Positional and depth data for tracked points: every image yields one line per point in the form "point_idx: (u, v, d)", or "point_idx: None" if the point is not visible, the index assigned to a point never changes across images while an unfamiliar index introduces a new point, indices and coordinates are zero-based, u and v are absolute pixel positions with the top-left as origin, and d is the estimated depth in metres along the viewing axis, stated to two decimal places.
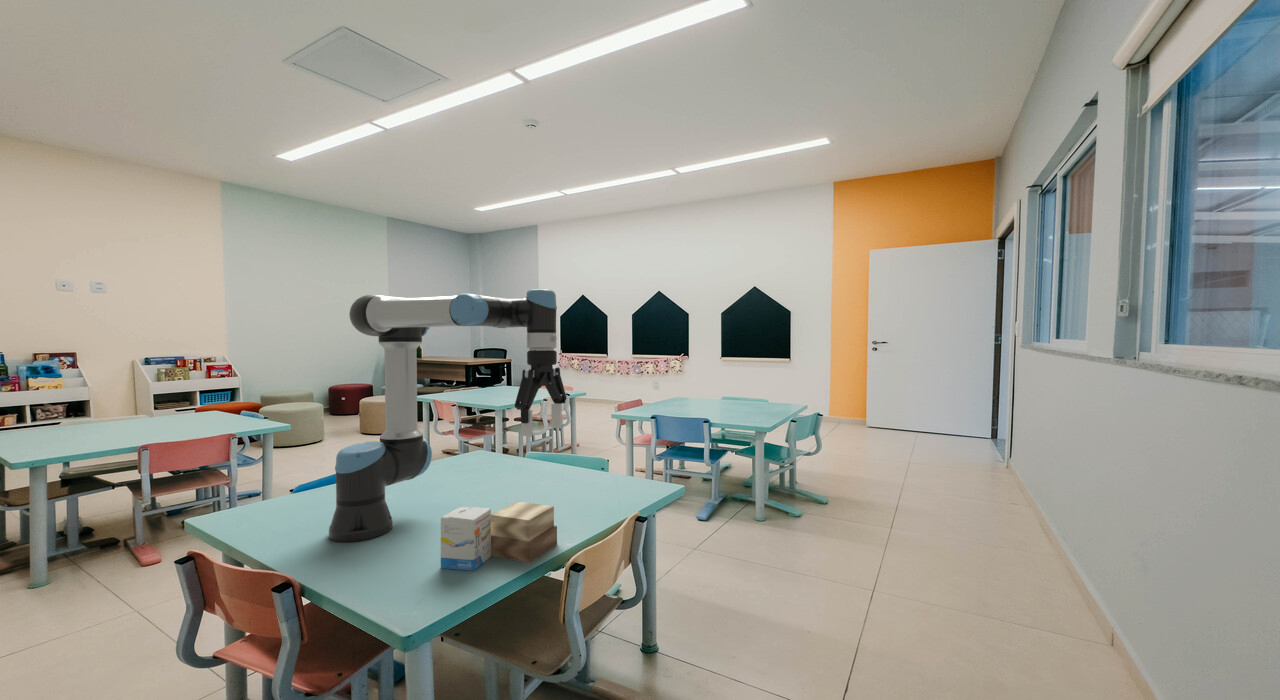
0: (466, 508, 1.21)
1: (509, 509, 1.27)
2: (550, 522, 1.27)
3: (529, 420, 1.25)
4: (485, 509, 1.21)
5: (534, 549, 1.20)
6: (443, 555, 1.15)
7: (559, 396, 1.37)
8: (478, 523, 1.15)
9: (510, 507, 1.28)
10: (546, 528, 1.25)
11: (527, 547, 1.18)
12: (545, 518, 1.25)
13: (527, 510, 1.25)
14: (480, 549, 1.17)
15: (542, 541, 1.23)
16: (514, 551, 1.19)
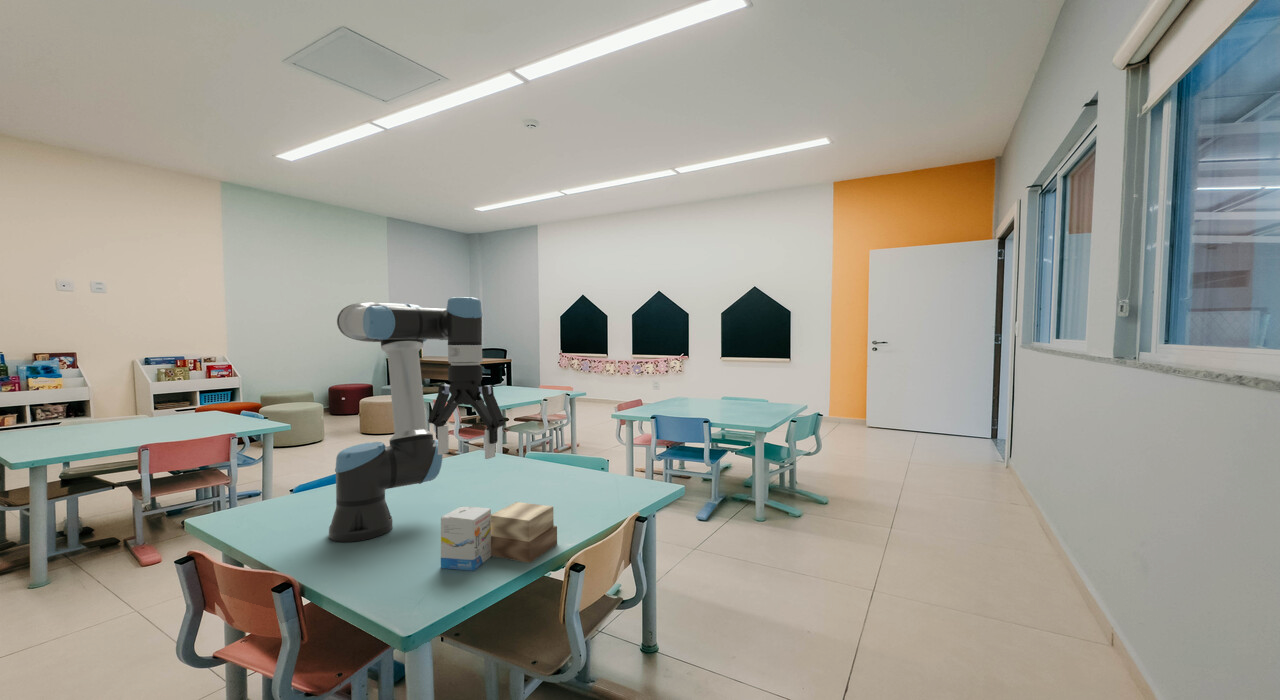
0: (466, 508, 1.21)
1: (509, 509, 1.27)
2: (550, 522, 1.27)
3: None
4: (485, 509, 1.21)
5: (534, 549, 1.20)
6: (443, 555, 1.15)
7: (485, 420, 1.15)
8: (478, 523, 1.15)
9: (509, 507, 1.28)
10: (545, 528, 1.25)
11: (526, 547, 1.18)
12: (544, 518, 1.25)
13: (527, 511, 1.25)
14: (480, 549, 1.17)
15: (542, 541, 1.23)
16: (514, 551, 1.19)
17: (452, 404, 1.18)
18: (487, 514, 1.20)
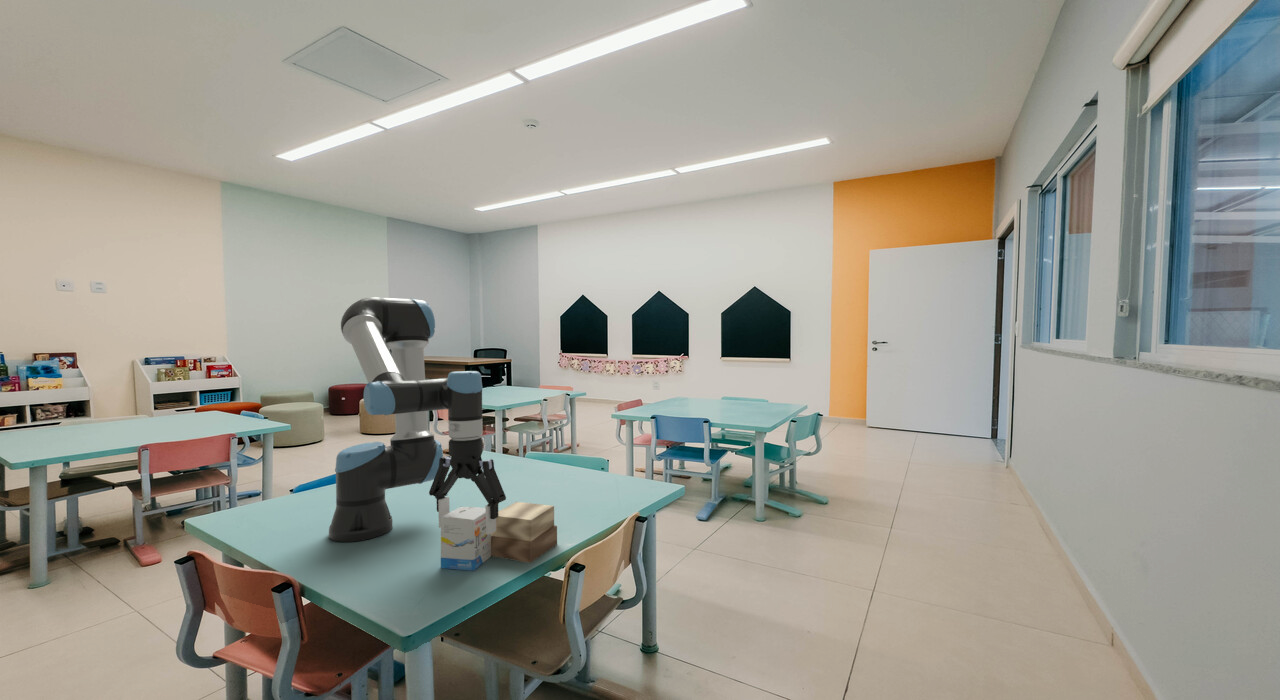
0: (466, 508, 1.21)
1: (509, 509, 1.26)
2: (551, 522, 1.27)
3: None
4: (485, 509, 1.21)
5: (534, 549, 1.20)
6: (443, 555, 1.15)
7: (485, 496, 1.15)
8: (478, 522, 1.15)
9: (510, 507, 1.28)
10: (547, 528, 1.25)
11: (527, 547, 1.18)
12: (546, 518, 1.25)
13: (528, 510, 1.25)
14: (480, 549, 1.17)
15: (542, 541, 1.23)
16: (514, 551, 1.19)
17: (453, 477, 1.18)
18: None
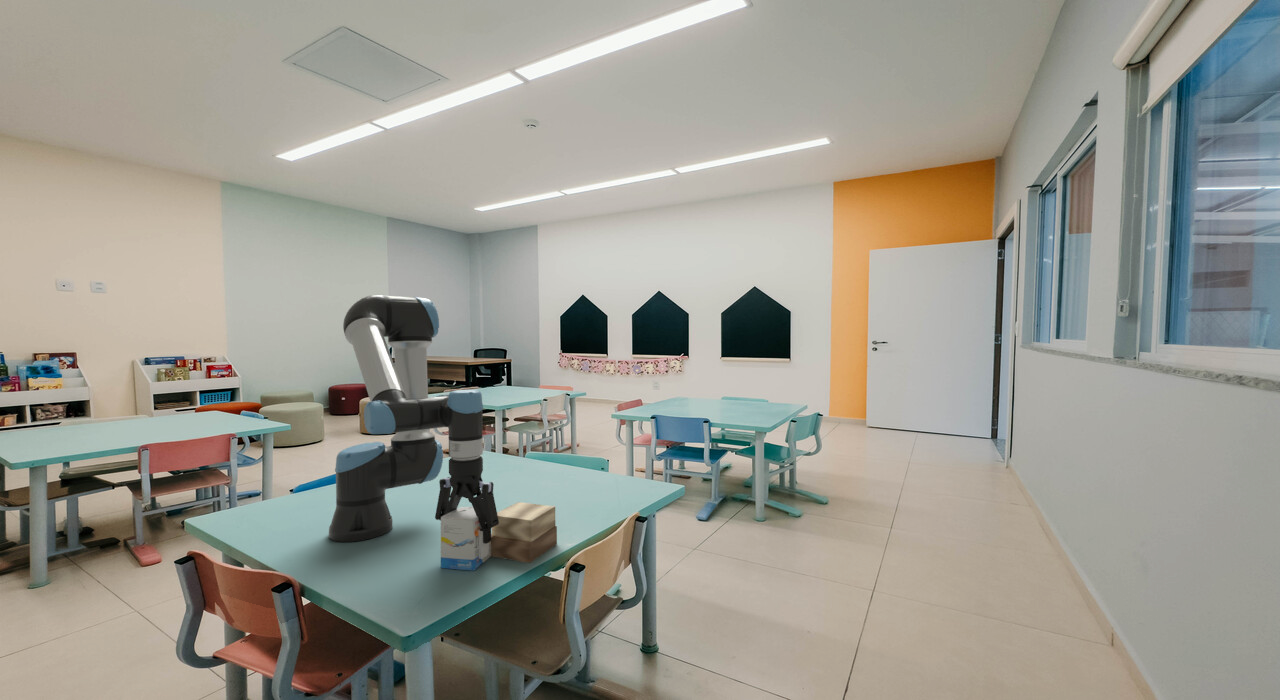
0: (466, 508, 1.21)
1: (511, 509, 1.27)
2: (552, 522, 1.27)
3: None
4: None
5: (534, 550, 1.20)
6: (443, 555, 1.15)
7: (480, 519, 1.15)
8: (477, 522, 1.15)
9: (511, 507, 1.28)
10: (547, 528, 1.25)
11: (526, 547, 1.18)
12: (546, 518, 1.25)
13: (529, 511, 1.25)
14: None
15: (542, 542, 1.23)
16: (514, 551, 1.19)
17: (455, 498, 1.18)
18: None
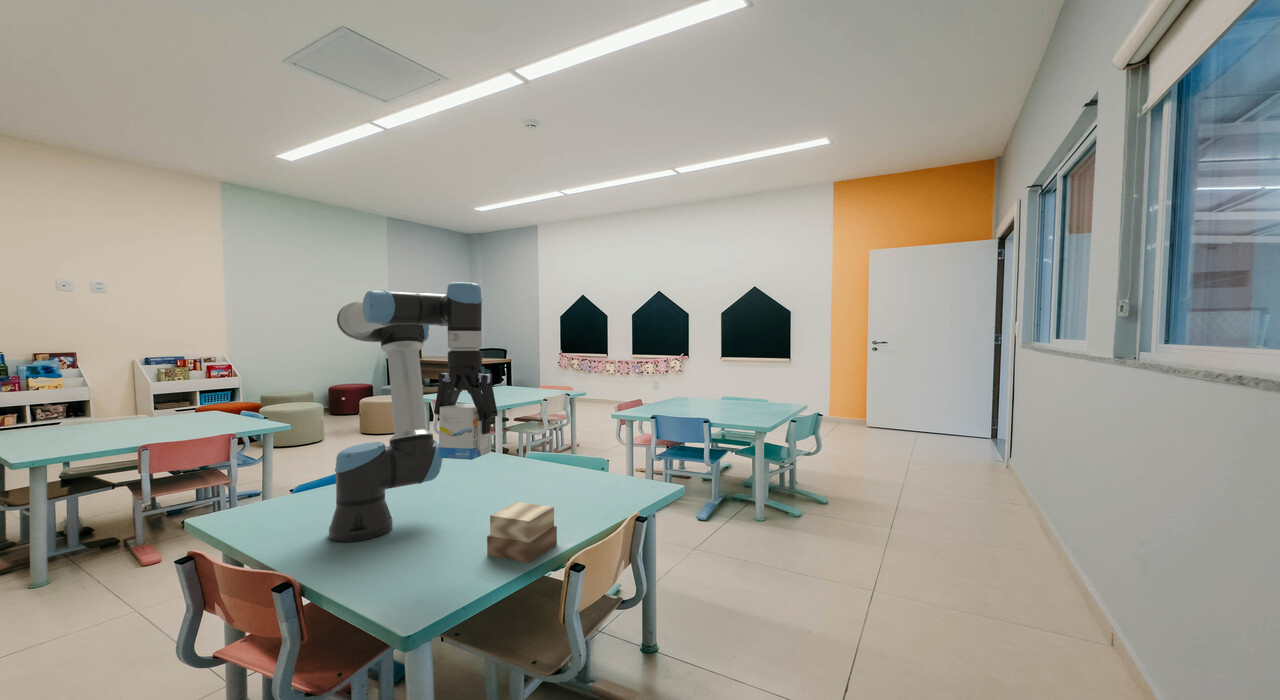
0: (465, 404, 1.21)
1: (509, 509, 1.26)
2: (550, 523, 1.27)
3: None
4: None
5: (534, 549, 1.20)
6: (441, 445, 1.15)
7: (478, 410, 1.15)
8: (476, 413, 1.15)
9: (510, 508, 1.27)
10: (546, 529, 1.25)
11: (526, 547, 1.18)
12: (545, 519, 1.24)
13: (527, 511, 1.25)
14: None
15: (542, 541, 1.23)
16: (513, 551, 1.19)
17: (454, 391, 1.18)
18: None
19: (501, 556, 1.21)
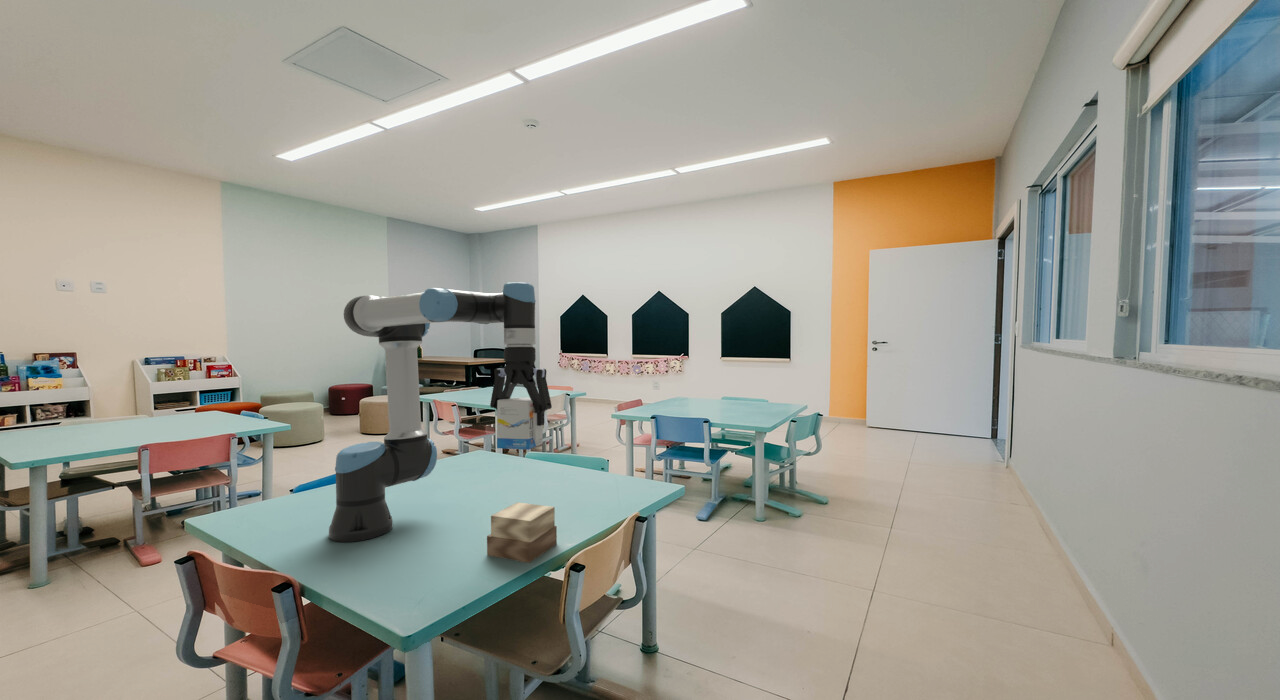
0: None
1: (510, 510, 1.26)
2: (551, 523, 1.27)
3: None
4: None
5: (534, 549, 1.20)
6: (499, 436, 1.21)
7: (534, 403, 1.22)
8: (532, 406, 1.22)
9: (510, 508, 1.27)
10: (547, 529, 1.25)
11: (526, 547, 1.18)
12: (546, 519, 1.25)
13: (528, 511, 1.25)
14: None
15: (542, 541, 1.23)
16: (513, 551, 1.19)
17: (510, 385, 1.25)
18: None
19: (501, 556, 1.21)
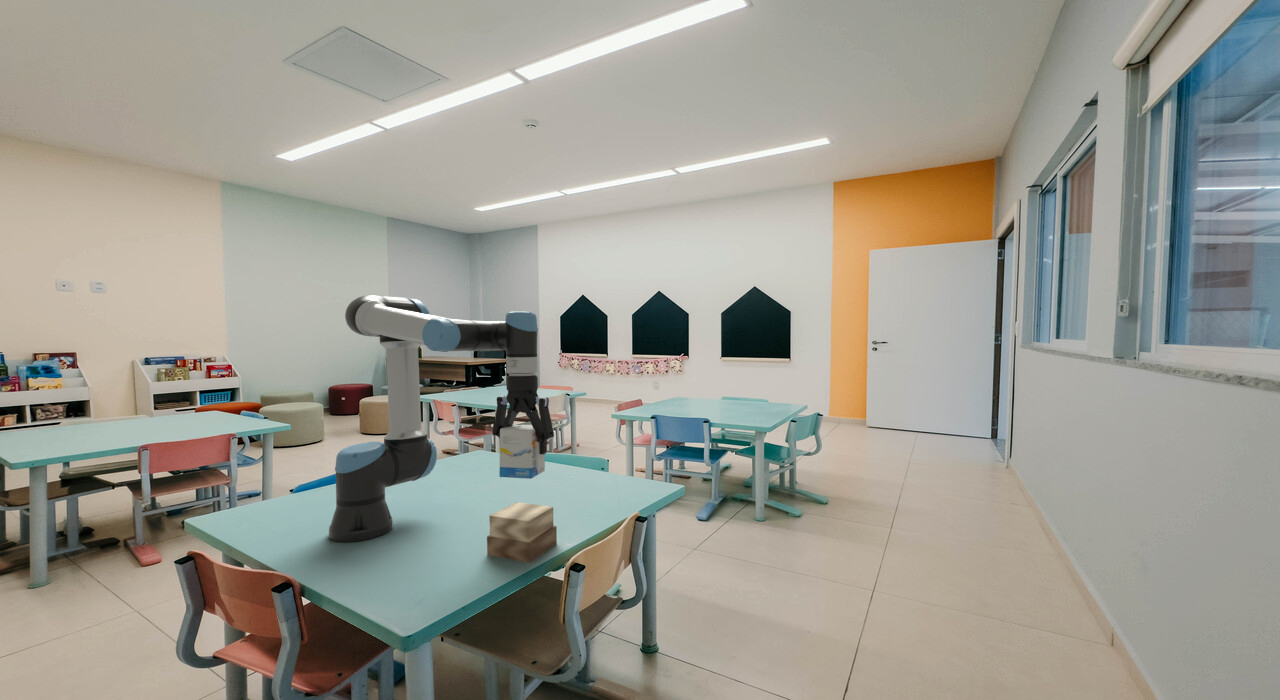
0: (521, 425, 1.28)
1: (508, 509, 1.26)
2: (550, 523, 1.27)
3: None
4: None
5: (534, 549, 1.20)
6: (502, 464, 1.22)
7: (536, 432, 1.22)
8: (534, 434, 1.22)
9: (509, 508, 1.27)
10: (545, 529, 1.25)
11: (526, 547, 1.18)
12: (544, 519, 1.25)
13: (527, 511, 1.25)
14: None
15: (542, 541, 1.23)
16: (513, 551, 1.19)
17: (512, 413, 1.25)
18: None
19: (501, 556, 1.21)
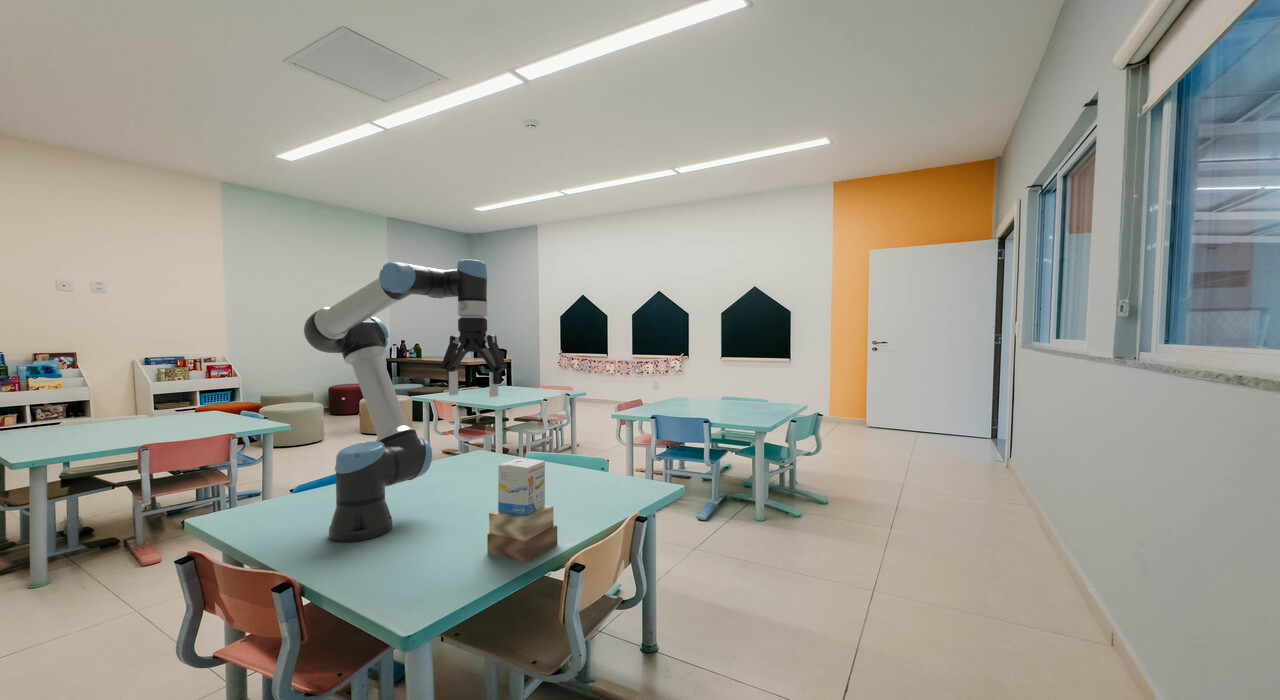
0: (522, 459, 1.29)
1: None
2: (549, 522, 1.27)
3: None
4: (539, 461, 1.28)
5: (532, 549, 1.20)
6: (500, 500, 1.23)
7: (489, 364, 1.35)
8: (531, 471, 1.23)
9: None
10: (544, 528, 1.25)
11: (524, 546, 1.18)
12: (543, 518, 1.25)
13: None
14: (534, 496, 1.24)
15: (541, 541, 1.23)
16: (512, 550, 1.20)
17: (461, 352, 1.38)
18: (541, 465, 1.27)
19: (501, 554, 1.21)
